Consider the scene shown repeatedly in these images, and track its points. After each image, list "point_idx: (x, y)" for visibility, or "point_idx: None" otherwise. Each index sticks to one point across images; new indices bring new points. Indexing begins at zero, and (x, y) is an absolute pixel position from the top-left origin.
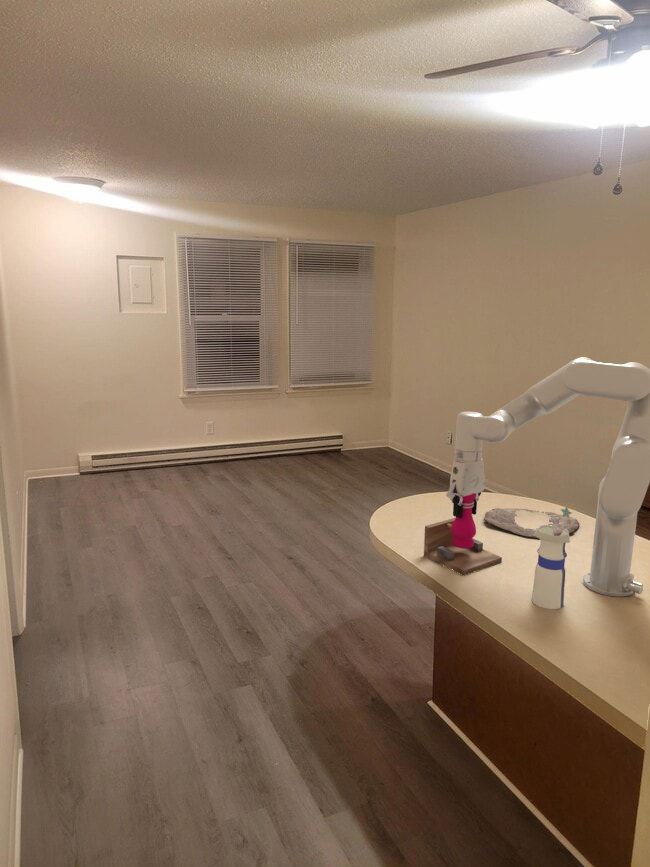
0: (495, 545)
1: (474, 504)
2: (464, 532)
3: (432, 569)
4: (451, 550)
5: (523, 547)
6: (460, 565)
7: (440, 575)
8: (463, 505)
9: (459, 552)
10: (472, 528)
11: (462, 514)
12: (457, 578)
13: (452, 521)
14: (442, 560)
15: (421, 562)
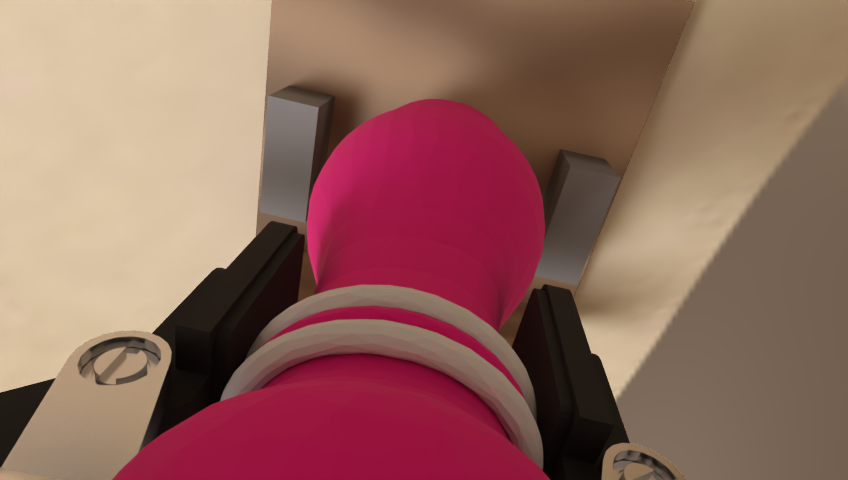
0: (105, 95)
1: (246, 318)
2: (528, 173)
3: (700, 199)
4: (562, 194)
5: None
6: (622, 68)
7: (759, 119)
8: (528, 412)
9: None
10: (444, 136)
11: (543, 309)
12: (745, 8)
13: None
14: (612, 199)
15: (643, 288)
